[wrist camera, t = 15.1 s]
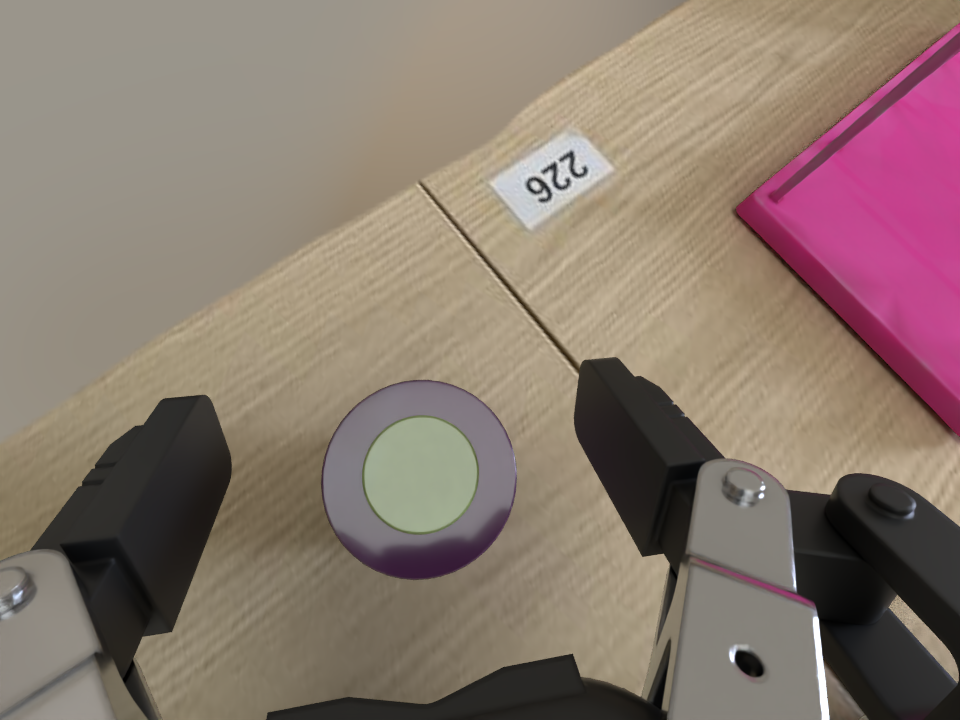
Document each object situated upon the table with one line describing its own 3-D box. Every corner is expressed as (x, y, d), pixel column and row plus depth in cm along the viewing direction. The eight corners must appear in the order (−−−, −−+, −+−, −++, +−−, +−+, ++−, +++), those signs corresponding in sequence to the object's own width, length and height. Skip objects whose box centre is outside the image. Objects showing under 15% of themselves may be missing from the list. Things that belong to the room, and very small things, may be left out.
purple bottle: (386, 554, 20) (345, 630, 9) (353, 447, 21) (284, 406, 10) (489, 512, 21) (559, 539, 10) (454, 412, 22) (484, 342, 11)
